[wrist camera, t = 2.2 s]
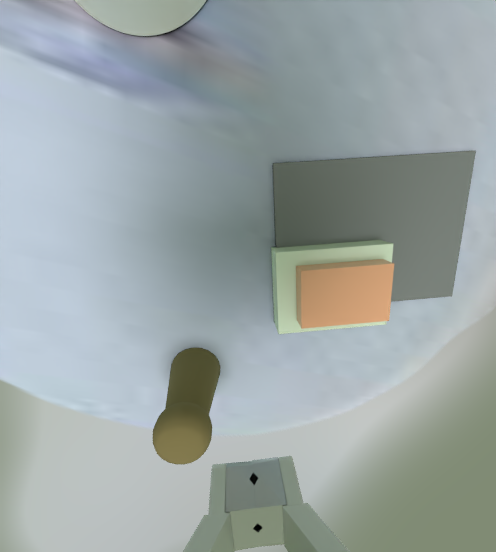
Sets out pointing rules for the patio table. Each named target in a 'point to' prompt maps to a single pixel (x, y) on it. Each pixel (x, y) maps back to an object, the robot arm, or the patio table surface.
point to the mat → (381, 211)
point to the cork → (187, 407)
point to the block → (343, 293)
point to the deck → (309, 255)
